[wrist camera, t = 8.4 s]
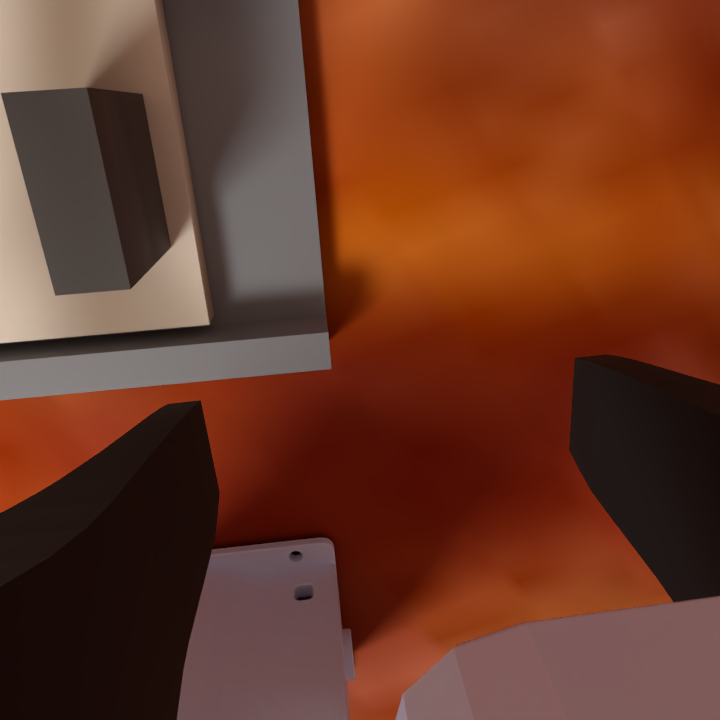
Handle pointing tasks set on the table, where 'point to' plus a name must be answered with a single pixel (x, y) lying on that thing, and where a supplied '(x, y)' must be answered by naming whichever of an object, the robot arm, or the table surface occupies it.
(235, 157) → the channel
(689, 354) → the table surface
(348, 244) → the table surface
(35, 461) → the table surface
